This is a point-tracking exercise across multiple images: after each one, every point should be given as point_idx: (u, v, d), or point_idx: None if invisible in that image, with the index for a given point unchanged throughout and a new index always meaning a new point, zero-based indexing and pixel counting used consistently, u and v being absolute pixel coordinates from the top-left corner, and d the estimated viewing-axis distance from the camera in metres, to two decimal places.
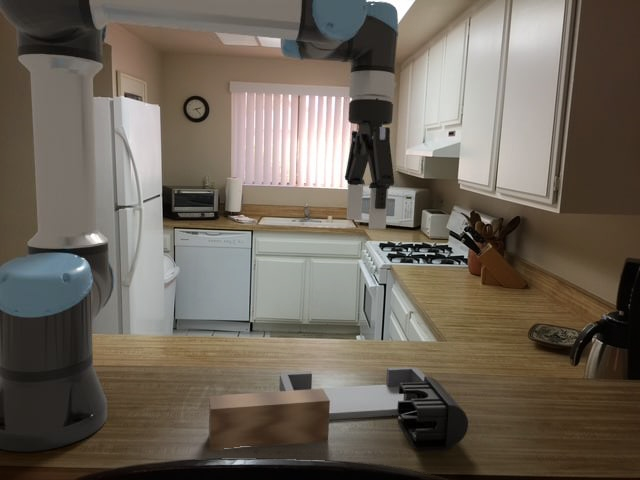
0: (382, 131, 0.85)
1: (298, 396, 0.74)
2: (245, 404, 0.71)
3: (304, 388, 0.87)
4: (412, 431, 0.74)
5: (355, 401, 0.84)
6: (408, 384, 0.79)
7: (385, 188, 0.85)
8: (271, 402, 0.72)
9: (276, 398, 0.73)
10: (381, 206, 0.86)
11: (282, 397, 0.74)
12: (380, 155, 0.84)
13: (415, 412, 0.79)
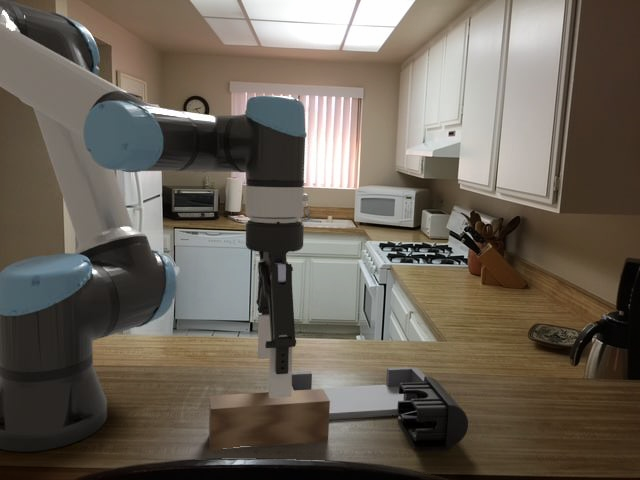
0: (281, 271, 0.64)
1: (298, 396, 0.74)
2: (245, 404, 0.71)
3: (304, 388, 0.87)
4: (412, 431, 0.74)
5: (355, 401, 0.84)
6: (408, 384, 0.79)
7: (286, 348, 0.63)
8: (271, 402, 0.72)
9: (276, 398, 0.73)
10: (282, 371, 0.64)
11: (283, 397, 0.73)
12: (278, 305, 0.63)
13: (415, 412, 0.79)
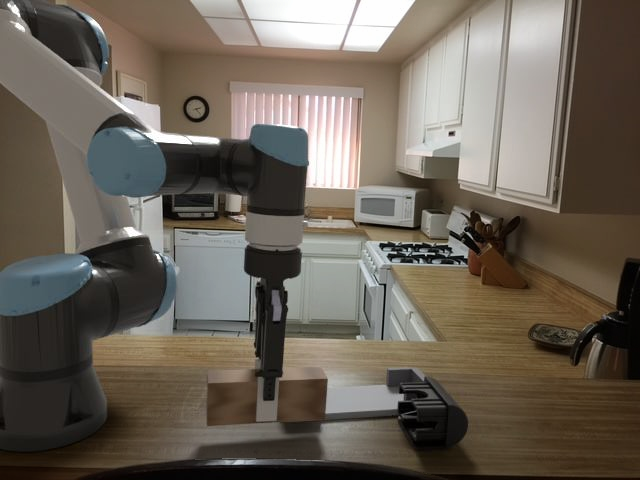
0: (277, 314, 0.65)
1: (296, 373, 0.74)
2: (243, 380, 0.71)
3: None
4: (412, 431, 0.74)
5: (355, 401, 0.84)
6: (408, 384, 0.79)
7: (273, 378, 0.69)
8: None
9: None
10: (269, 398, 0.69)
11: None
12: (269, 343, 0.66)
13: (415, 412, 0.79)
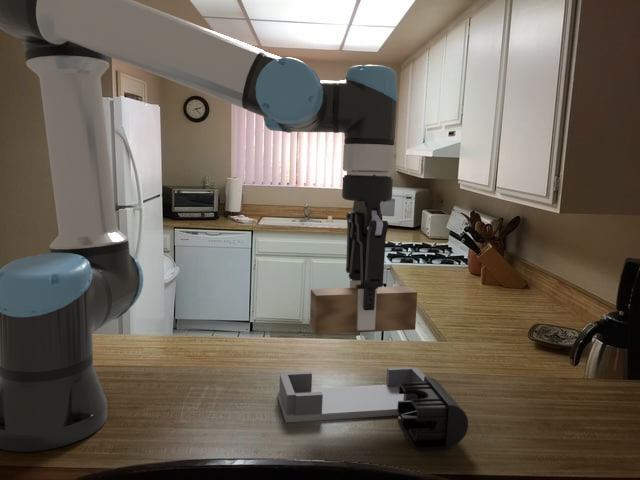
0: (379, 228, 0.75)
1: (388, 289, 0.83)
2: (344, 293, 0.80)
3: (304, 388, 0.87)
4: (412, 431, 0.74)
5: (355, 401, 0.84)
6: (408, 384, 0.79)
7: (373, 289, 0.79)
8: None
9: None
10: (369, 307, 0.79)
11: None
12: (372, 255, 0.76)
13: (415, 412, 0.79)
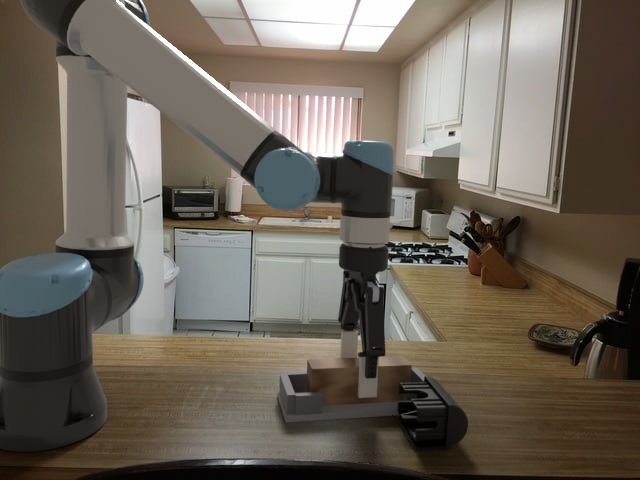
0: (375, 294, 0.76)
1: (383, 361, 0.85)
2: (340, 366, 0.82)
3: (304, 388, 0.87)
4: (412, 431, 0.74)
5: None
6: (408, 384, 0.79)
7: (376, 357, 0.77)
8: None
9: None
10: (371, 376, 0.77)
11: None
12: (372, 322, 0.76)
13: (415, 412, 0.79)
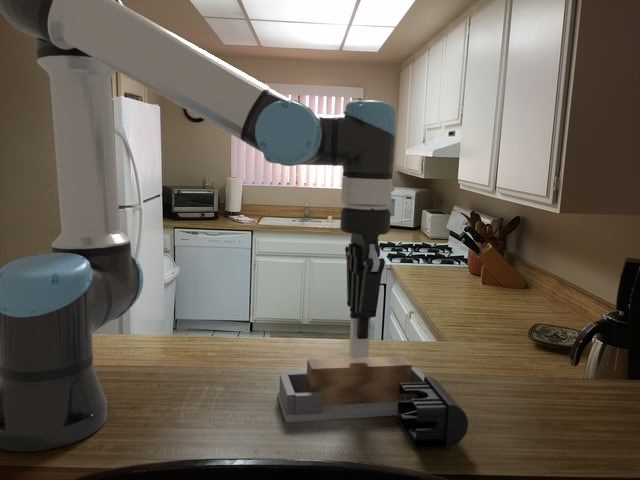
0: (375, 266, 0.76)
1: (383, 361, 0.85)
2: (340, 366, 0.82)
3: (304, 388, 0.87)
4: (412, 431, 0.74)
5: None
6: (408, 384, 0.79)
7: (367, 318, 0.81)
8: (361, 364, 0.83)
9: (365, 362, 0.84)
10: (363, 336, 0.82)
11: (370, 361, 0.85)
12: (367, 290, 0.78)
13: (415, 412, 0.79)
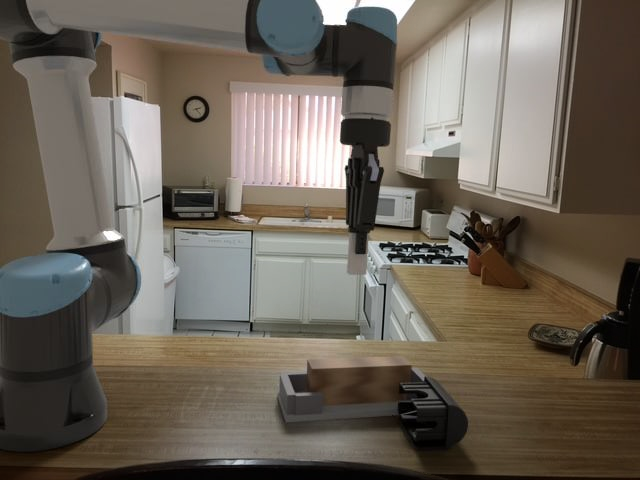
0: (374, 174, 0.75)
1: (383, 361, 0.85)
2: (340, 366, 0.82)
3: (304, 388, 0.87)
4: (412, 431, 0.74)
5: None
6: (408, 384, 0.79)
7: (365, 233, 0.80)
8: (361, 364, 0.83)
9: (365, 362, 0.84)
10: (361, 251, 0.81)
11: (370, 361, 0.85)
12: (366, 200, 0.77)
13: (415, 412, 0.79)
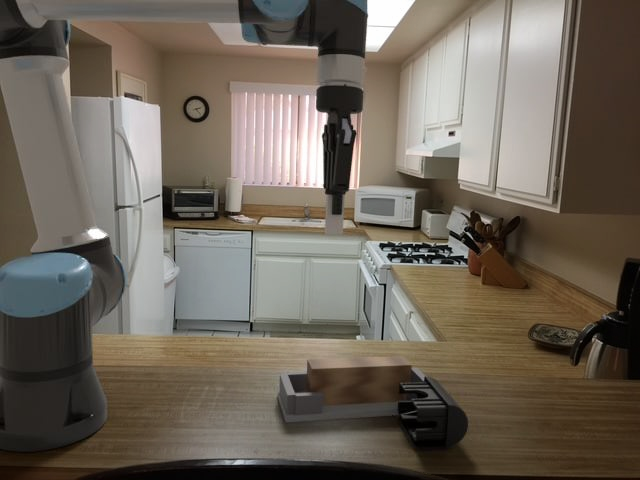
0: (347, 137, 0.80)
1: (383, 361, 0.85)
2: (340, 366, 0.82)
3: (304, 388, 0.87)
4: (412, 431, 0.74)
5: None
6: (408, 384, 0.79)
7: (341, 194, 0.85)
8: (361, 364, 0.83)
9: (365, 362, 0.84)
10: (337, 212, 0.86)
11: (370, 361, 0.85)
12: (340, 162, 0.82)
13: (415, 412, 0.79)
